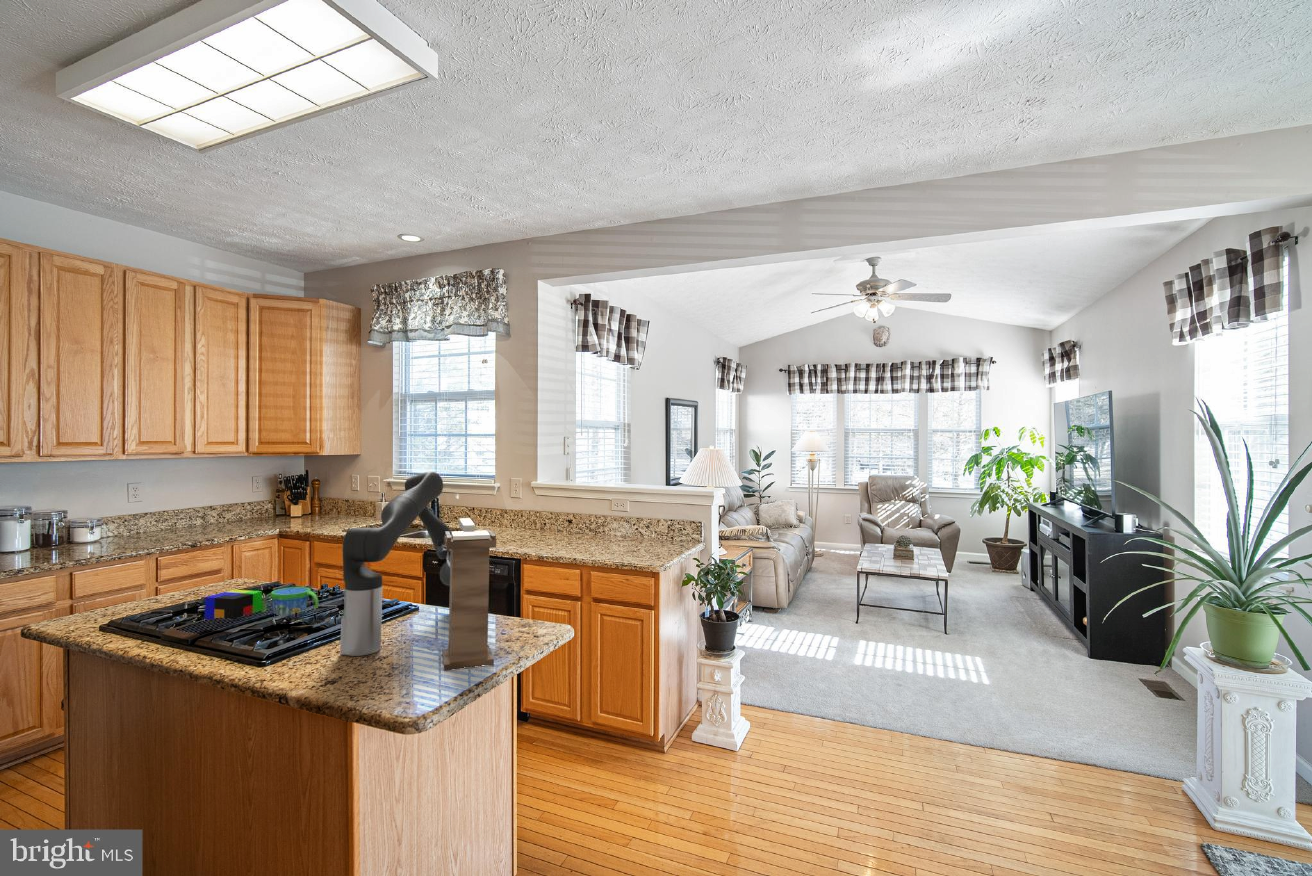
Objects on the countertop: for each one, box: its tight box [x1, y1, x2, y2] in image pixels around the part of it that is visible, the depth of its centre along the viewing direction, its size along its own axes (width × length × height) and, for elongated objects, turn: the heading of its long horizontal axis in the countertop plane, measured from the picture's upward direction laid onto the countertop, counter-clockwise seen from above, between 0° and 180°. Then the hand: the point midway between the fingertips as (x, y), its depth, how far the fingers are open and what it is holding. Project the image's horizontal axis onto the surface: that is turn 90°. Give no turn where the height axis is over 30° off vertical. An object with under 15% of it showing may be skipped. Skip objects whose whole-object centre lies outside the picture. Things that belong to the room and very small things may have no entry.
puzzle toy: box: [204, 589, 263, 620], centre depth 181 cm, size 10×10×10 cm
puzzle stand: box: [441, 529, 497, 672], centre depth 156 cm, size 12×12×33 cm
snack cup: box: [261, 586, 319, 615], centre depth 186 cm, size 16×10×10 cm
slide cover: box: [451, 517, 490, 540], centre depth 163 cm, size 26×9×2 cm, turn 22°
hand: (462, 535), depth 179 cm, fingers open, 8 cm apart
